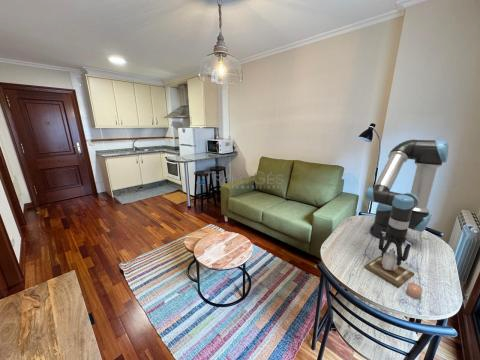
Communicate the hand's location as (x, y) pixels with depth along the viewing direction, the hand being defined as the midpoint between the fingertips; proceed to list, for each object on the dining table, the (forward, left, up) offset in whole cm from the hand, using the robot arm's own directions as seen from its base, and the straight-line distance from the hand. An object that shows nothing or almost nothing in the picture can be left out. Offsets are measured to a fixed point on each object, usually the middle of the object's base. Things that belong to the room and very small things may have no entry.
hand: (389, 266), depth 102 cm
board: (0, 0, -3) cm, 3 cm away
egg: (+6, +13, -3) cm, 15 cm away
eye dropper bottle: (0, 0, -2) cm, 2 cm away
